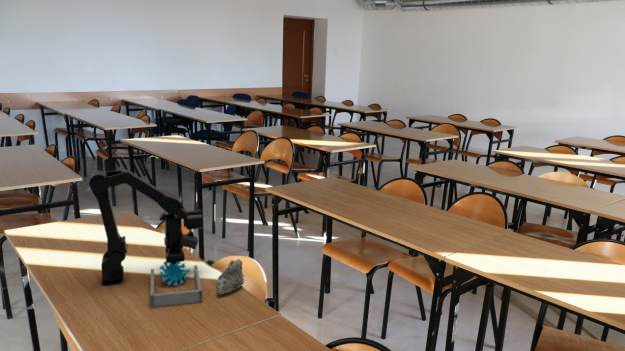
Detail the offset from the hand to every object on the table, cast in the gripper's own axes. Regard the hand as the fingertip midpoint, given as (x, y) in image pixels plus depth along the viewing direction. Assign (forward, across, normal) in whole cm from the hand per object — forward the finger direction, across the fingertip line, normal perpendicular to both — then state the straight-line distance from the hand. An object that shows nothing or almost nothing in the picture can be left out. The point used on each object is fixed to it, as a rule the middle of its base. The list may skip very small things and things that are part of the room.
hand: (174, 269), depth 171 cm
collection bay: (+2, -13, 0) cm, 13 cm away
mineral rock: (+2, -15, -17) cm, 23 cm away
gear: (+2, -7, 0) cm, 7 cm away
